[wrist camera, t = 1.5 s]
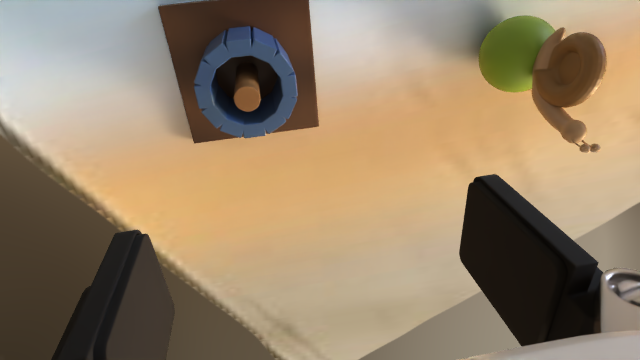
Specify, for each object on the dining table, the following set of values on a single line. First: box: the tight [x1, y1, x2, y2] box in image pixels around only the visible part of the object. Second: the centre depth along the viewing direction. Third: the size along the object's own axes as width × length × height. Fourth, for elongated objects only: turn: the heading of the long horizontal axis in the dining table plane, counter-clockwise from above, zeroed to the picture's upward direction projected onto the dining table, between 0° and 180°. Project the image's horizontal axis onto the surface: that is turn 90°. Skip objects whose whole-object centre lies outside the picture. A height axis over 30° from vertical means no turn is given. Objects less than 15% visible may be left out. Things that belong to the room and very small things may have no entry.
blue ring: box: [194, 26, 298, 138], centre depth 27 cm, size 6×6×4 cm
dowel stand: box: [158, 0, 319, 143], centre depth 27 cm, size 10×10×7 cm
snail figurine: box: [479, 16, 607, 153], centre depth 27 cm, size 5×6×12 cm
